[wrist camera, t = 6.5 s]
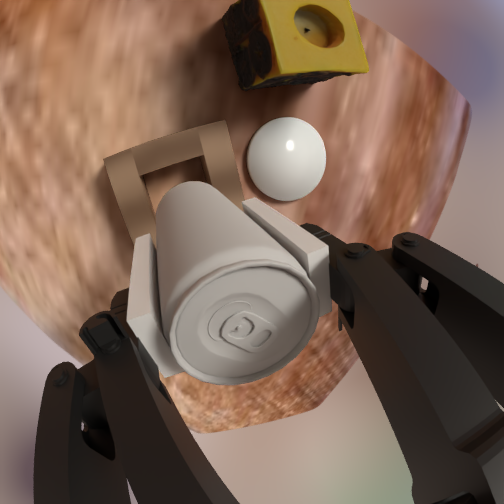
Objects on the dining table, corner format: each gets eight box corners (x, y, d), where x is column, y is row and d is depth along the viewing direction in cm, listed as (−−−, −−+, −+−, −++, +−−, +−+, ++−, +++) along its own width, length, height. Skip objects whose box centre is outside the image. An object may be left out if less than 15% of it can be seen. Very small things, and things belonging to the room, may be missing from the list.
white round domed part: (237, 126, 27) (239, 126, 27) (315, 112, 29) (318, 112, 28) (256, 209, 32) (258, 211, 31) (327, 188, 34) (330, 189, 33)
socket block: (109, 156, 24) (103, 159, 21) (218, 121, 26) (225, 119, 23) (145, 256, 30) (144, 270, 27) (242, 222, 32) (252, 232, 29)
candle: (219, 17, 21) (247, -25, 12) (298, 14, 23) (346, -14, 14) (238, 93, 26) (276, 75, 17) (316, 84, 28) (371, 73, 19)
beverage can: (187, 164, 16) (247, 216, 6) (240, 209, 19) (348, 306, 8) (141, 222, 17) (131, 357, 6) (196, 261, 19) (252, 400, 9)
